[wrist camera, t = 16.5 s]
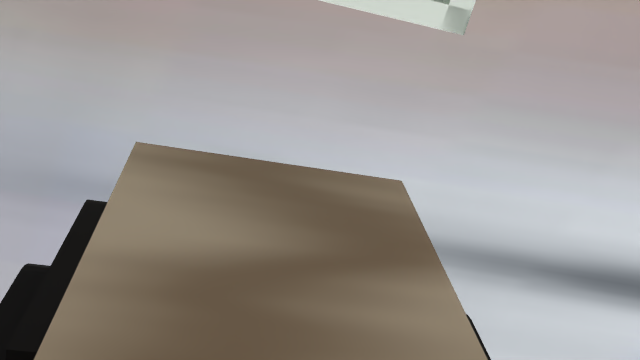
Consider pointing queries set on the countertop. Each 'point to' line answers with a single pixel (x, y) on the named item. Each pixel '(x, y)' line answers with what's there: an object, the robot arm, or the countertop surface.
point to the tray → (419, 11)
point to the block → (257, 268)
